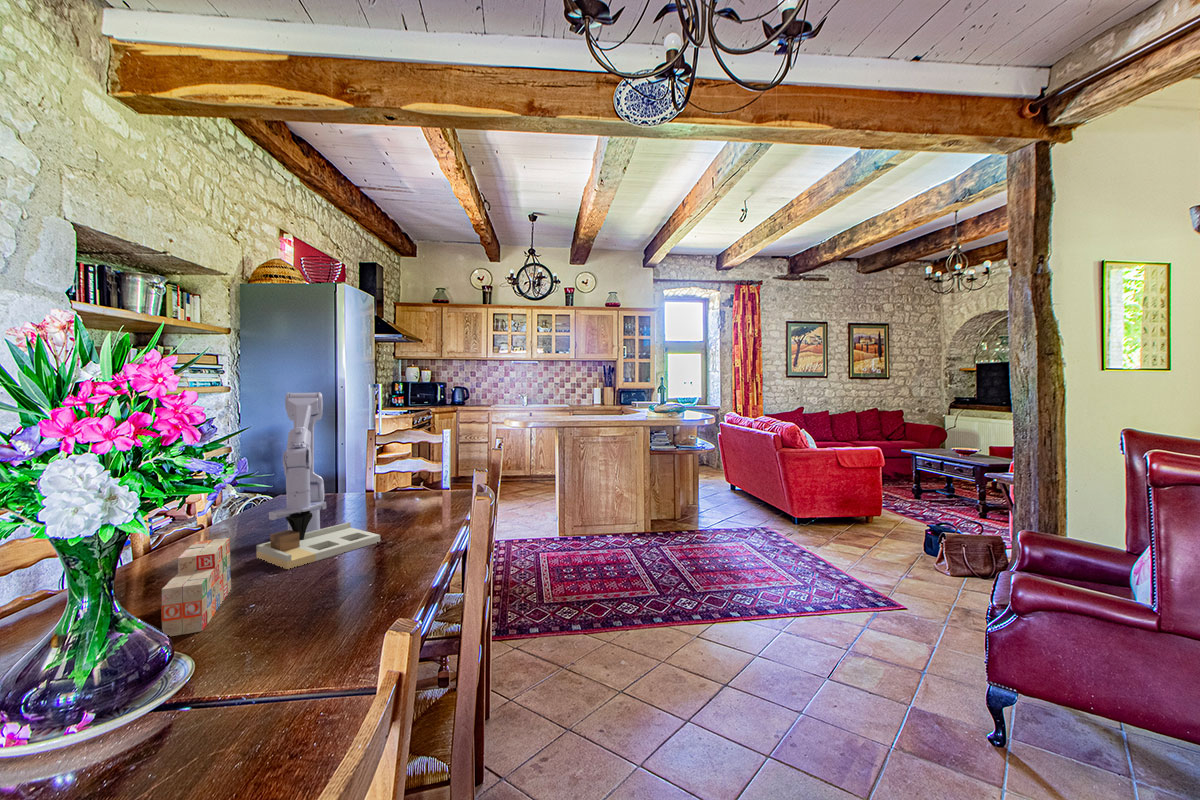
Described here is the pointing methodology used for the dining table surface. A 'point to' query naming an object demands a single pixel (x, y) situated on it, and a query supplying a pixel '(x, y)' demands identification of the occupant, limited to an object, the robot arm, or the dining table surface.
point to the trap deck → (318, 546)
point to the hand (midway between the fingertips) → (299, 539)
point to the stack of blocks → (196, 587)
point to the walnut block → (285, 540)
